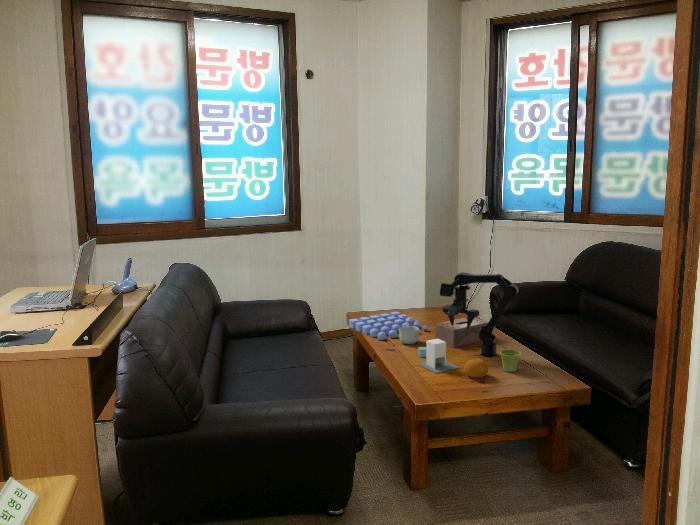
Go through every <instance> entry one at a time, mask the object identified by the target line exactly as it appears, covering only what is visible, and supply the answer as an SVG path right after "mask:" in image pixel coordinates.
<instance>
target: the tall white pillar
mask: <svg viewBox="0 0 700 525" xmlns="http://www.w3.org/2000/svg"><path fill="white" fill-rule="evenodd" d="M425 347H426V357H425V359H426V361H425V362H426V365H428V366H430V367H432V368H434V369H435V363H439V364H441V365H443V366H446V361H447V345H446V342H445V341H442V340H440V339H435V338H433V339H428V340H426V346H425Z"/></svg>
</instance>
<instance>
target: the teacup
mask: <svg viewBox="0 0 700 525" xmlns="http://www.w3.org/2000/svg"><path fill="white" fill-rule="evenodd" d="M419 330H420V328H418V327H414V325H413V326H406V327H401V328H400V329H399V333H398V334H399V336H398V337H399V340H400V342H402V343H403V344H405V345H414V344H416V343H417V342H418V341H419V339H420V331H419Z"/></svg>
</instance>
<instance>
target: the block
mask: <svg viewBox="0 0 700 525" xmlns="http://www.w3.org/2000/svg"><path fill="white" fill-rule="evenodd" d="M418 357H419V358H426V346H418Z"/></svg>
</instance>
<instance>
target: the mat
mask: <svg viewBox="0 0 700 525" xmlns="http://www.w3.org/2000/svg"><path fill="white" fill-rule="evenodd" d="M418 365H419V366H421V367H422V368H425V369H426V370H428V371H430V372H432V373H433V374H439V373H445V372H449V371H454V370H458V369H460V368H461V367H460V366H458V365H456V364H454V363H452V362H450V361H447V360H446V366H443V365H441V364H439V363H435V369H434V368H432V367H430V366H428V365H426V361H424V362H420V363H418Z"/></svg>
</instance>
